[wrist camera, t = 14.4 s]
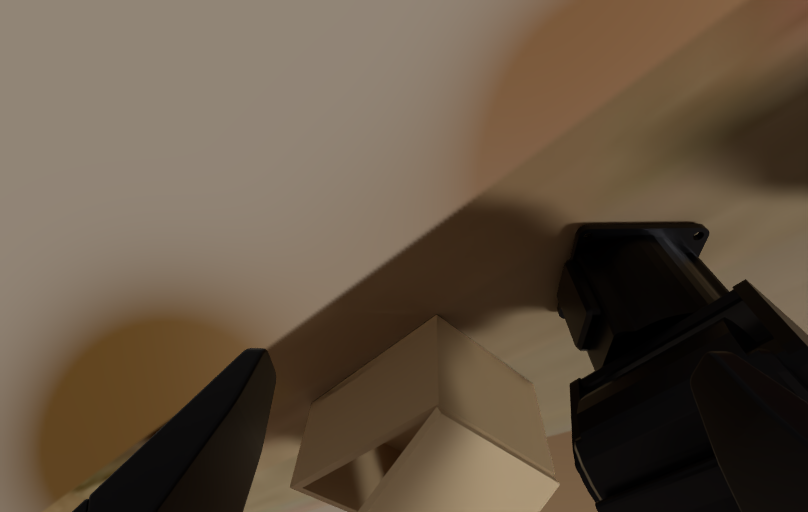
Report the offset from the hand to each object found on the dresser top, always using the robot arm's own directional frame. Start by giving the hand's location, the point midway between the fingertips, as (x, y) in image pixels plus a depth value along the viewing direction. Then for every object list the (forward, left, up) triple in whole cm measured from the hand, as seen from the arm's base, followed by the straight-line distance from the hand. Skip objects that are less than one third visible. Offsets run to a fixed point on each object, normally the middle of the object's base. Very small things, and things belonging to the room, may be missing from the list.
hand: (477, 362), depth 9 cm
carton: (+2, +20, -13) cm, 24 cm away
